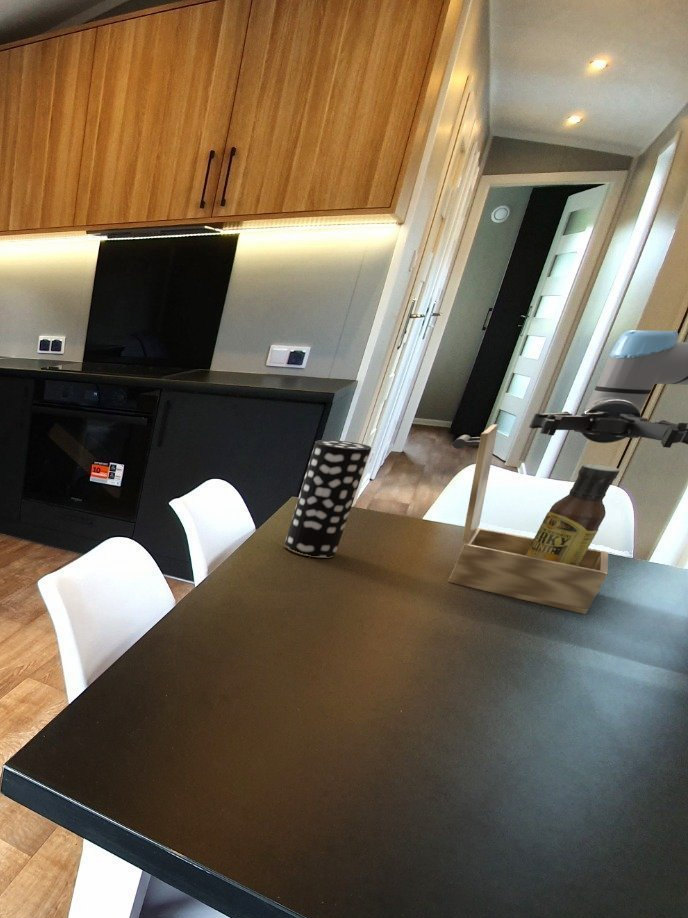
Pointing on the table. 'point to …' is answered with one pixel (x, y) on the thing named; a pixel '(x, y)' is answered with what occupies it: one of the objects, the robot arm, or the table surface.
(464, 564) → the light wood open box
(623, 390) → the robot arm
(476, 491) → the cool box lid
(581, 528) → the sauce bottle
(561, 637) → the table surface
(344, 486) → the white-spotted black cylinder
